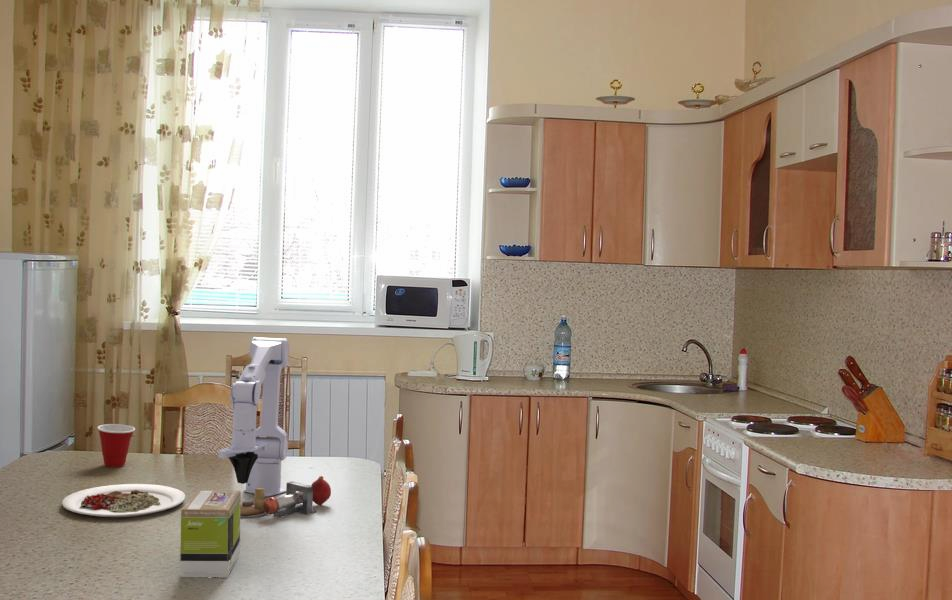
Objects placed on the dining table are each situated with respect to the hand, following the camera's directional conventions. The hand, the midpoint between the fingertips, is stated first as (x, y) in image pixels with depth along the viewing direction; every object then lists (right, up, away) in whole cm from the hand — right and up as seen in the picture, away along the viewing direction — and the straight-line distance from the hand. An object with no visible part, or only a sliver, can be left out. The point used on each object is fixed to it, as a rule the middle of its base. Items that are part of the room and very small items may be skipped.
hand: (242, 482), depth 229 cm
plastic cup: (-52, -5, +50) cm, 72 cm away
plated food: (-33, -8, +9) cm, 35 cm away
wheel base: (-1, -9, +8) cm, 12 cm away
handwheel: (-1, -9, +8) cm, 12 cm away
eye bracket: (+10, -10, +8) cm, 16 cm away
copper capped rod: (+10, -8, +7) cm, 15 cm away
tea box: (+2, -11, -34) cm, 36 cm away
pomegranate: (+17, -10, +16) cm, 25 cm away
